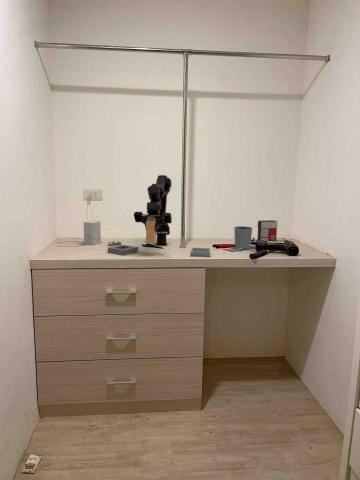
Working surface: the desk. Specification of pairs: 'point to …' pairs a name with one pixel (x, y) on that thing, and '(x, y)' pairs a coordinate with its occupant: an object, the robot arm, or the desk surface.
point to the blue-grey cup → (243, 237)
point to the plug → (150, 230)
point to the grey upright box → (267, 230)
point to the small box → (92, 232)
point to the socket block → (122, 249)
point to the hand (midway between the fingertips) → (150, 230)
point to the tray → (200, 252)
